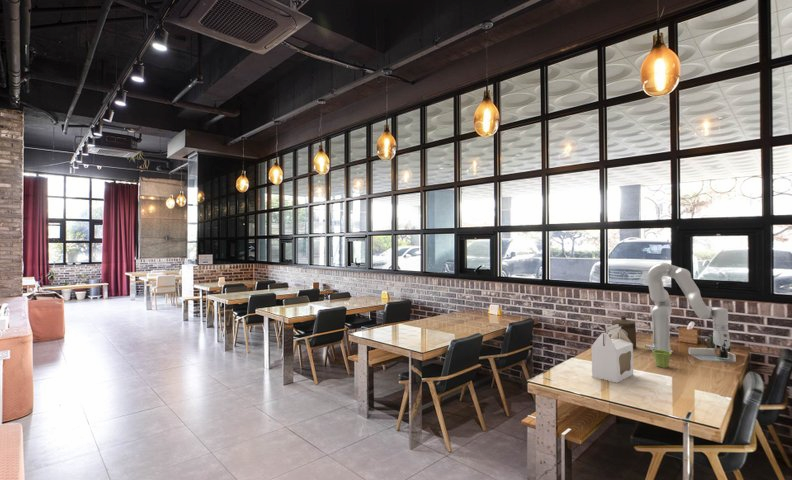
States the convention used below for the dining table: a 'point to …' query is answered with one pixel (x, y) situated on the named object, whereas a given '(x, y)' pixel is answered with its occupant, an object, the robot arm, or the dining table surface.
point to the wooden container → (627, 329)
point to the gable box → (612, 355)
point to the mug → (712, 342)
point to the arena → (709, 355)
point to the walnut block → (718, 352)
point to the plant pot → (662, 358)
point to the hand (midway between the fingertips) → (721, 356)
